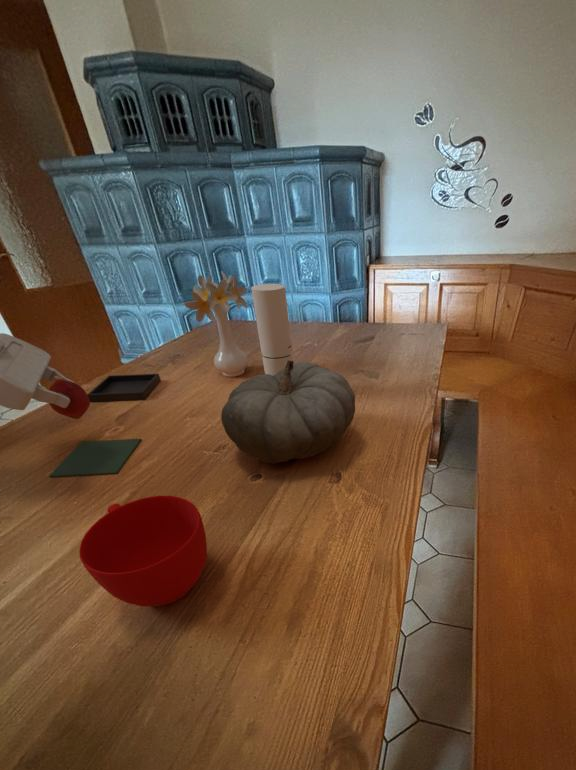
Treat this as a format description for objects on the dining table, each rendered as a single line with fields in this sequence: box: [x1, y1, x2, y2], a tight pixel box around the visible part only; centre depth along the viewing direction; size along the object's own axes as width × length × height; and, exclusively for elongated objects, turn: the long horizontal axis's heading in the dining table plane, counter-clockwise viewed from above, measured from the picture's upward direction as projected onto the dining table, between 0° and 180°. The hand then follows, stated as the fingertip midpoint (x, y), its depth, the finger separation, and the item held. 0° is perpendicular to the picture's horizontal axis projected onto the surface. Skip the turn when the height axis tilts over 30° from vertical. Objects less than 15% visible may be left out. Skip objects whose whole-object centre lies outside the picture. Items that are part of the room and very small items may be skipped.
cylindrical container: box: [250, 283, 295, 376], centre depth 89 cm, size 7×7×25 cm
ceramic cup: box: [78, 495, 208, 607], centre depth 49 cm, size 13×17×10 cm
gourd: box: [220, 360, 356, 464], centre depth 73 cm, size 25×25×17 cm
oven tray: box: [87, 373, 162, 403], centre depth 100 cm, size 13×12×2 cm
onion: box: [48, 376, 91, 420], centre depth 67 cm, size 6×6×8 cm
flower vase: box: [184, 270, 249, 378], centre depth 101 cm, size 13×18×25 cm
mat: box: [48, 438, 142, 478], centre depth 75 cm, size 12×12×1 cm
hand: (71, 395), depth 67 cm, fingers closed on onion, 6 cm apart
